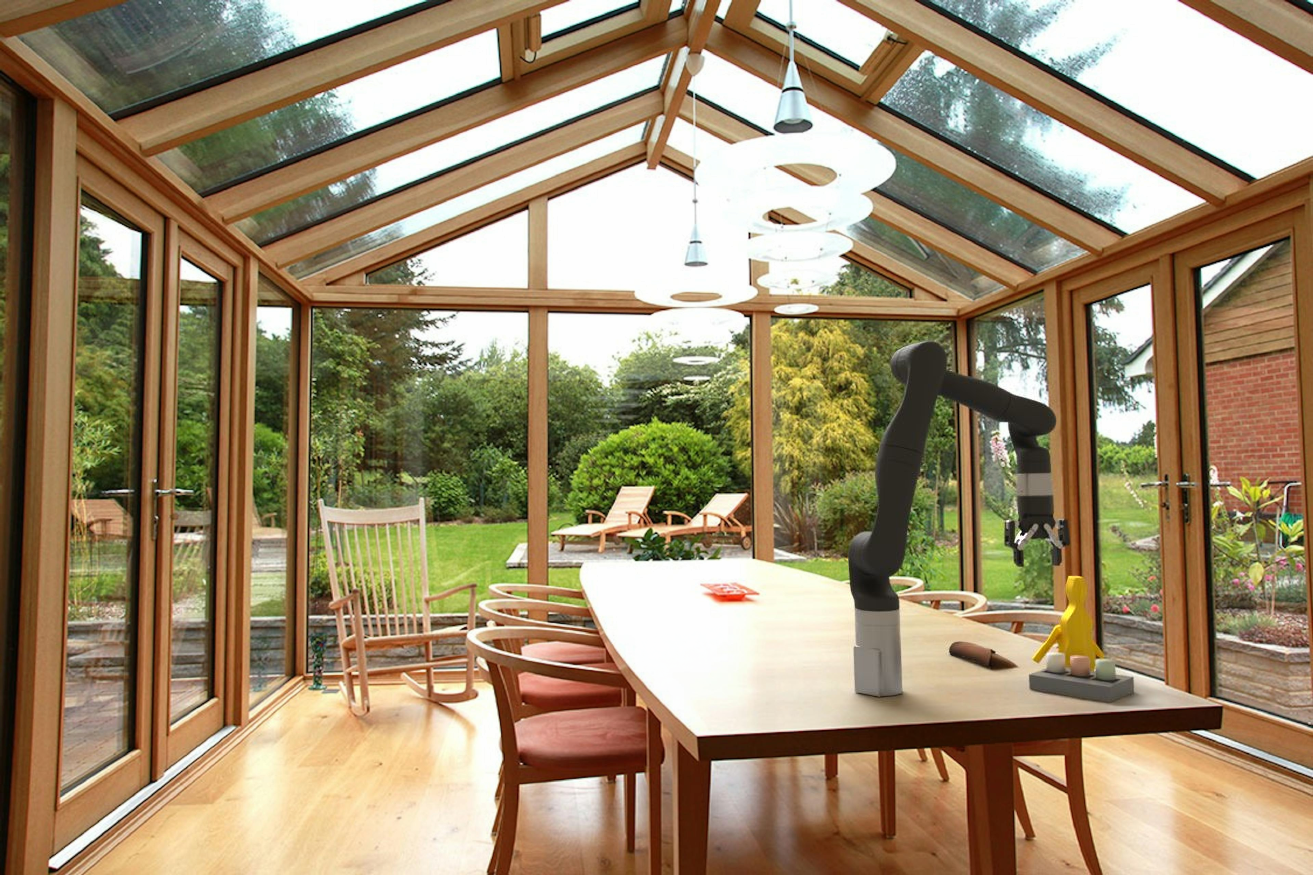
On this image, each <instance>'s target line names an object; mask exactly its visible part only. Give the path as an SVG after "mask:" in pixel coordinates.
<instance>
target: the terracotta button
mask: <svg viewBox="0 0 1313 875" xmlns="http://www.w3.org/2000/svg"><path fill="white" fill-rule="evenodd" d="M1070 666H1071V674H1072V675H1076V676H1090V660H1089V657H1087V656H1081V655H1073V656H1070Z"/></svg>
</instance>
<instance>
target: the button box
mask: <svg viewBox="0 0 1313 875" xmlns="http://www.w3.org/2000/svg"><path fill="white" fill-rule="evenodd" d="M1065 669H1066V671H1065V672H1050V671H1047V667H1046V668H1044V669H1040V670H1038V671H1035V672H1032V673H1029V674H1028V682H1029V685H1028V686H1029V690H1034V691H1040V692H1045V693H1049V694H1050V693H1052V694H1057V695H1061V696H1062V695H1064V696H1068V697H1075V698H1081V699H1087V700H1092V701H1097V702H1098V701H1099V702H1106V703H1113V702H1114V701H1117V700H1119V699H1121V698H1123V697H1126V696H1127V695H1130V694H1132V693H1135V685H1134V676H1128V675H1123V674H1116V679H1115V680H1102V679H1098V678H1096V670H1094V671H1090V676H1076V675H1072V674H1071V668H1068V667H1065Z"/></svg>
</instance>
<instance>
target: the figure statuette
mask: <svg viewBox="0 0 1313 875" xmlns="http://www.w3.org/2000/svg"><path fill="white" fill-rule="evenodd" d="M1065 594H1066V597H1067V600H1068V605H1067V608H1066V610H1065V611H1064V613H1063V614H1062V615H1061V618H1060V621H1059V624H1058V625H1055V626H1054V627H1053V629H1052V631H1051V633H1050V634H1049V636H1048V638H1047V640H1046V641H1044V643H1043V644H1042V645H1041V646H1040V648H1039V649H1038V650H1037V651H1036V653H1035V654H1034V655H1033V657H1032V658H1031V660H1032V661H1033V662H1035V663H1038V664H1040V662H1041V661H1042V660H1043V658H1044V657H1046V653H1048V652H1049V651H1050V650H1051V649H1052V647H1054V645H1055V643H1056V644H1057V645H1058V646H1057V647H1058V649H1057V652H1059V653H1064V654H1065V667H1068V668H1071V666H1070V656H1073V655H1081V656H1087V657H1089V660H1090V671H1095V670H1096V669H1095V659H1097V658H1096V656H1097V657H1098V659H1105V657H1106V655H1105V654H1104V652H1102V650H1101V649H1100V647H1099V646H1098V645H1097V643H1096V642H1095V640H1094V639H1093V638H1092V633H1093V629H1094V628H1093V627H1094V621H1093V618H1092V617H1091V615H1090V614H1089V613H1088V611H1087V609H1086V608H1085V605H1084V603H1085V602H1086V598H1087V595H1088V586H1087V583H1086V580H1085V578H1084V576H1078V575H1068V578H1067V580H1066V584H1065Z"/></svg>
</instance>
